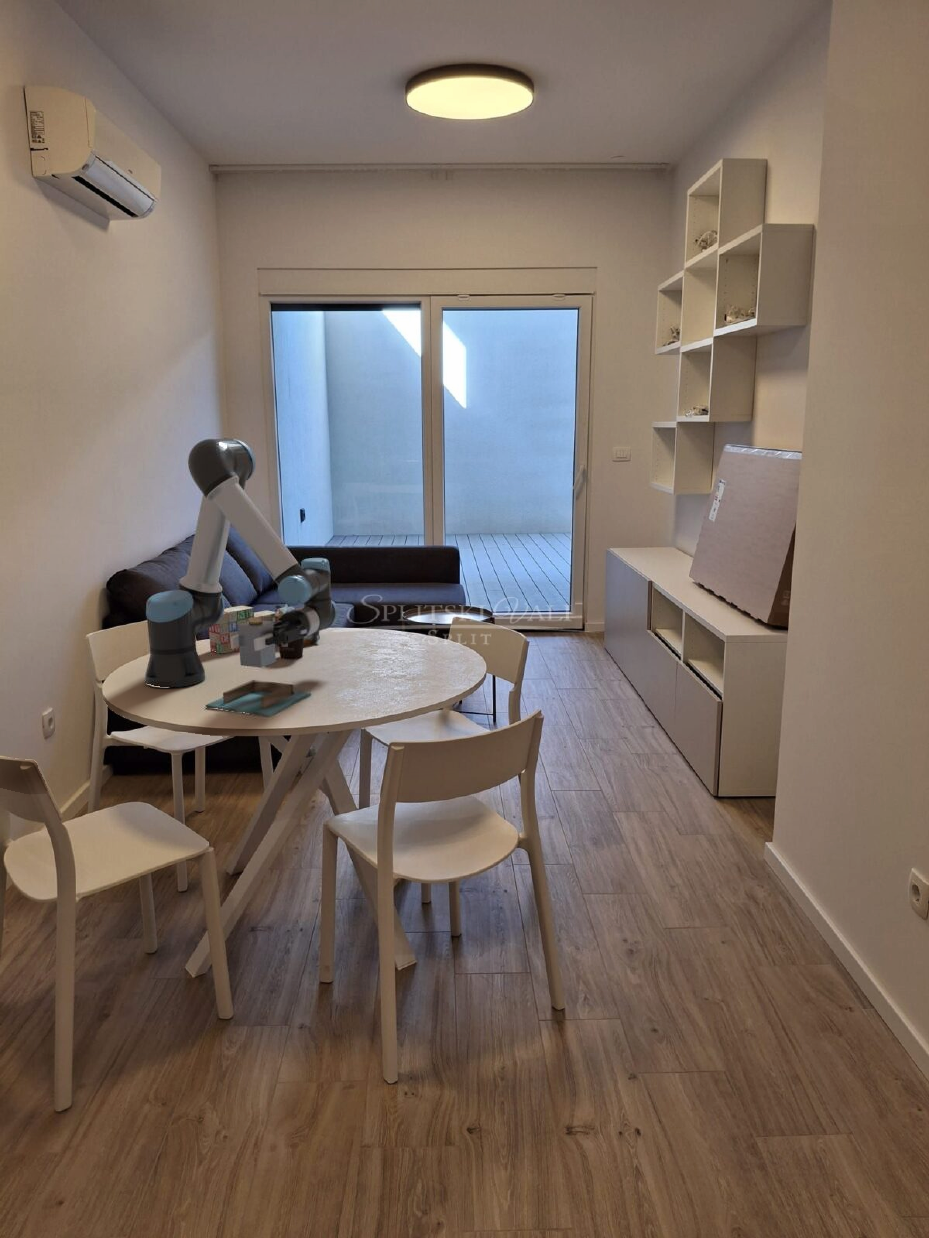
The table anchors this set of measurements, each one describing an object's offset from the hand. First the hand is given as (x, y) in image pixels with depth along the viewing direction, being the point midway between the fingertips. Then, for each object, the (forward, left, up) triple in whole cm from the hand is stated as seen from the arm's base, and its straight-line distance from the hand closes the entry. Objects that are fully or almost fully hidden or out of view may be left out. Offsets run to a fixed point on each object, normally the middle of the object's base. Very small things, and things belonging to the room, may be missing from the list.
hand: (243, 644), depth 206 cm
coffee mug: (+6, +49, -16) cm, 51 cm away
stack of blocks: (-8, +63, -16) cm, 65 cm away
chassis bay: (+2, +5, -16) cm, 16 cm away
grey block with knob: (+3, +4, -6) cm, 8 cm away
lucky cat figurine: (+8, +65, -16) cm, 67 cm away
